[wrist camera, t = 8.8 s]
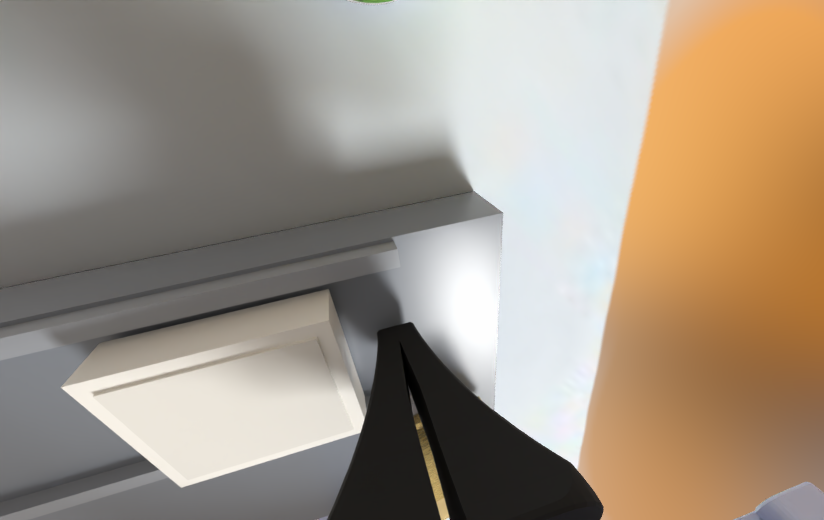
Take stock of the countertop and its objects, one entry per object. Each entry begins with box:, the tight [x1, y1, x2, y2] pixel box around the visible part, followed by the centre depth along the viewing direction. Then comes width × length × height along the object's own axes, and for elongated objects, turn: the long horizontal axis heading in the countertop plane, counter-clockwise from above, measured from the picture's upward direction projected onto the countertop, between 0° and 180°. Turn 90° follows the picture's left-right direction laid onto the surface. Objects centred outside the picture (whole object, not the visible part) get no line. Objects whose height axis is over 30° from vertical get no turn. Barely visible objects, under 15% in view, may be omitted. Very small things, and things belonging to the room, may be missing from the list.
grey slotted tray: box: [0, 192, 503, 520], centre depth 14 cm, size 18×25×4 cm
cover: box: [61, 289, 366, 488], centre depth 11 cm, size 6×7×2 cm
